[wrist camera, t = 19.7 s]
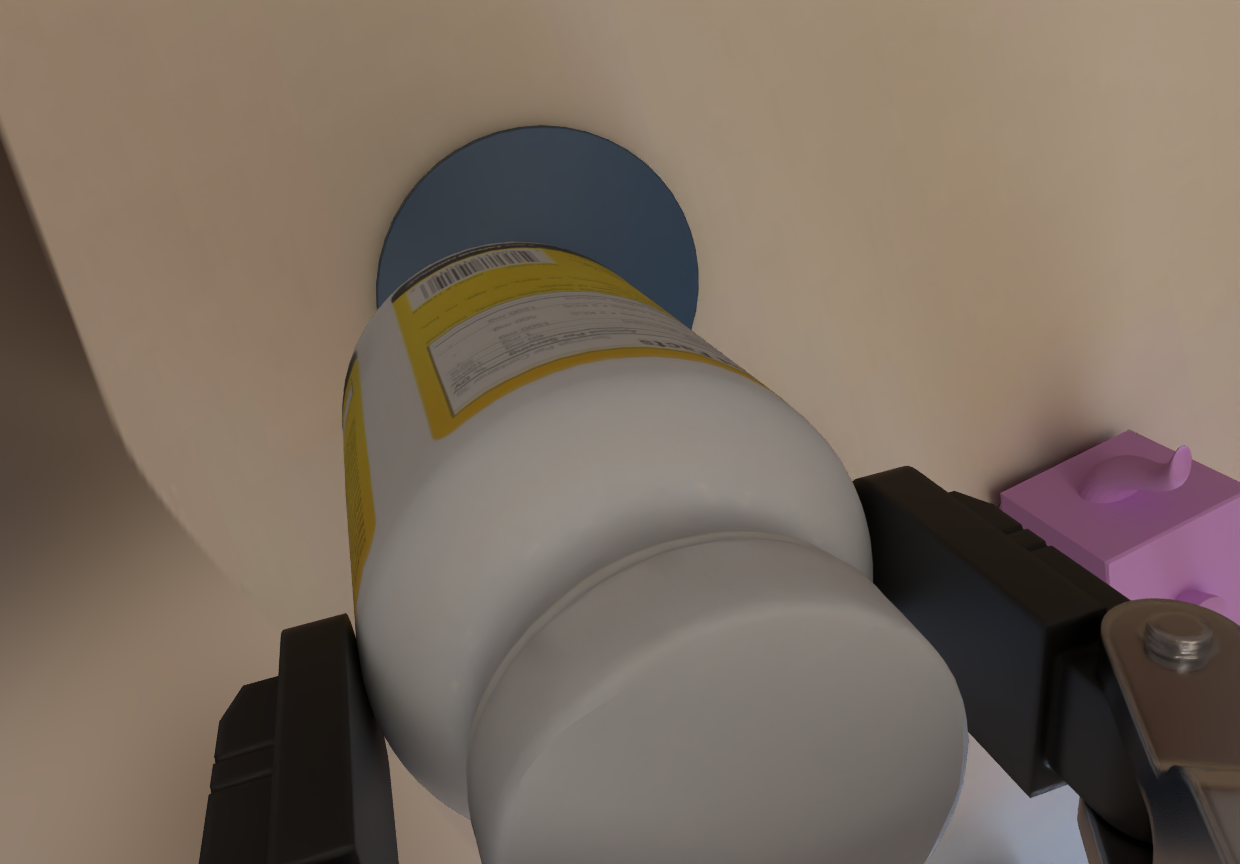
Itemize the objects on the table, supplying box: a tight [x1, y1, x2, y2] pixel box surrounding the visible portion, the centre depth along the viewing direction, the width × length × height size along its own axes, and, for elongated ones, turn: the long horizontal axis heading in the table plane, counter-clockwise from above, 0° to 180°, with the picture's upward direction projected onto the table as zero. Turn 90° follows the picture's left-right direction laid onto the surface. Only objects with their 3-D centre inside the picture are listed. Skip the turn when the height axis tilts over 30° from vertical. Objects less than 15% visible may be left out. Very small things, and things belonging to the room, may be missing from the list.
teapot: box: [999, 430, 1240, 626], centre depth 46 cm, size 18×13×10 cm
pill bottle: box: [342, 242, 969, 864], centre depth 13 cm, size 6×6×12 cm
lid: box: [376, 125, 698, 330], centre depth 34 cm, size 13×13×7 cm
